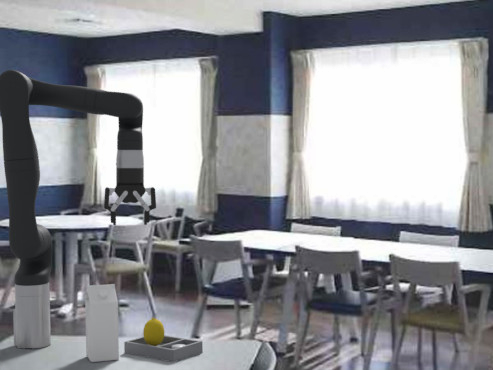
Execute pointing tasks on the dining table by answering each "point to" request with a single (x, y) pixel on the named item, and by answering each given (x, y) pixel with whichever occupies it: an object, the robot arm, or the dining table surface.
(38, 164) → the robot arm
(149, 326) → the lemon
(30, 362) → the dining table surface
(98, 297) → the milk carton
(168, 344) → the grey divided tray
